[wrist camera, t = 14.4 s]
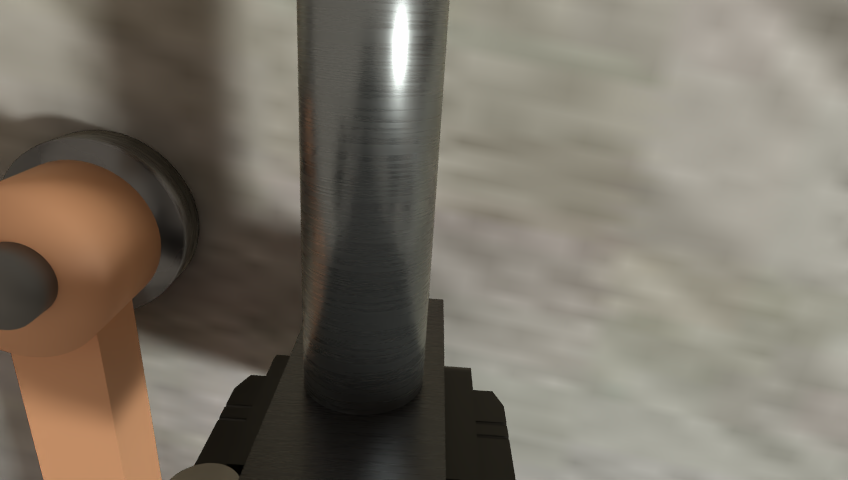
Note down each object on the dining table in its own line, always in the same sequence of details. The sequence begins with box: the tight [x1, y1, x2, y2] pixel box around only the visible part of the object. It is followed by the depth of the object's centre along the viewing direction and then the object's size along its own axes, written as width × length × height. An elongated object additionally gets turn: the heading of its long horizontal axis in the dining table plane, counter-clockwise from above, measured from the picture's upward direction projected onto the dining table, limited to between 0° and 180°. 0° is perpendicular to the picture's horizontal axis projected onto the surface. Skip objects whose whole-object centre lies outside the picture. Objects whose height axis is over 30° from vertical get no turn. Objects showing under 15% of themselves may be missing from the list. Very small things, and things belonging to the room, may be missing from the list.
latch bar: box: [0, 160, 162, 480], centre depth 15 cm, size 4×15×3 cm, turn 178°
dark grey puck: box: [3, 130, 199, 308], centre depth 15 cm, size 4×4×1 cm
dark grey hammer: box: [239, 0, 449, 480], centre depth 9 cm, size 17×3×8 cm, turn 177°
